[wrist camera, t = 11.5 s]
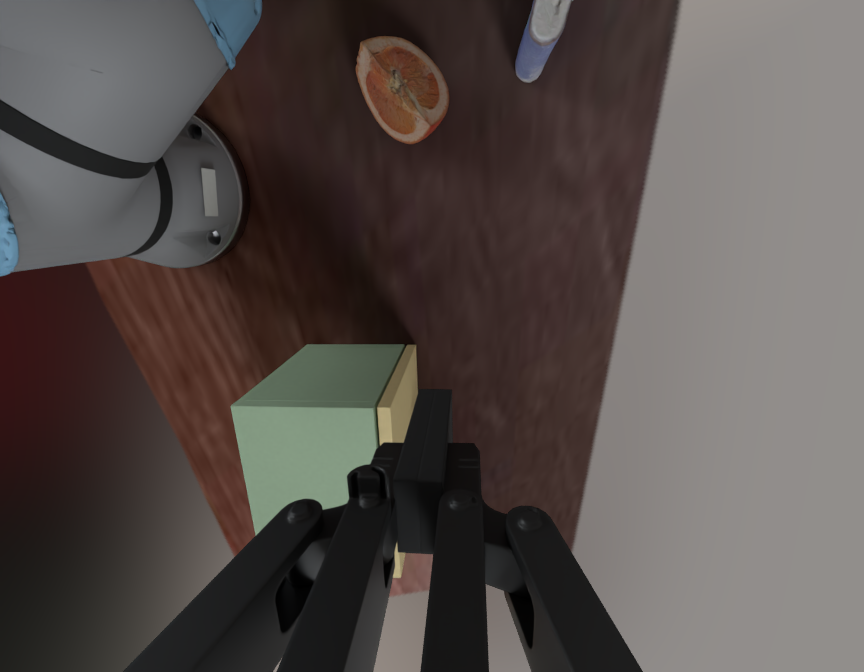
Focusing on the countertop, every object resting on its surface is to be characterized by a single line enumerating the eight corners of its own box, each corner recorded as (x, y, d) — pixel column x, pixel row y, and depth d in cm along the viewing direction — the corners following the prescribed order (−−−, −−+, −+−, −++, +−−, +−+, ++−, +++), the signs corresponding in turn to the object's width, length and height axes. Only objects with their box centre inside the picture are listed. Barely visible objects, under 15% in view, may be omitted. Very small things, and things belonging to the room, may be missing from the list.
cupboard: (404, 344, 44) (373, 408, 29) (411, 470, 48) (386, 579, 34) (307, 344, 45) (230, 405, 30) (322, 467, 49) (262, 572, 35)
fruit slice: (351, 88, 37) (333, 70, 32) (404, 30, 35) (394, 1, 30) (411, 162, 38) (403, 155, 33) (466, 109, 36) (465, 94, 32)
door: (464, 344, 43) (461, 408, 29) (464, 473, 47) (462, 581, 33) (406, 344, 43) (376, 407, 29) (412, 471, 48) (389, 577, 34)
